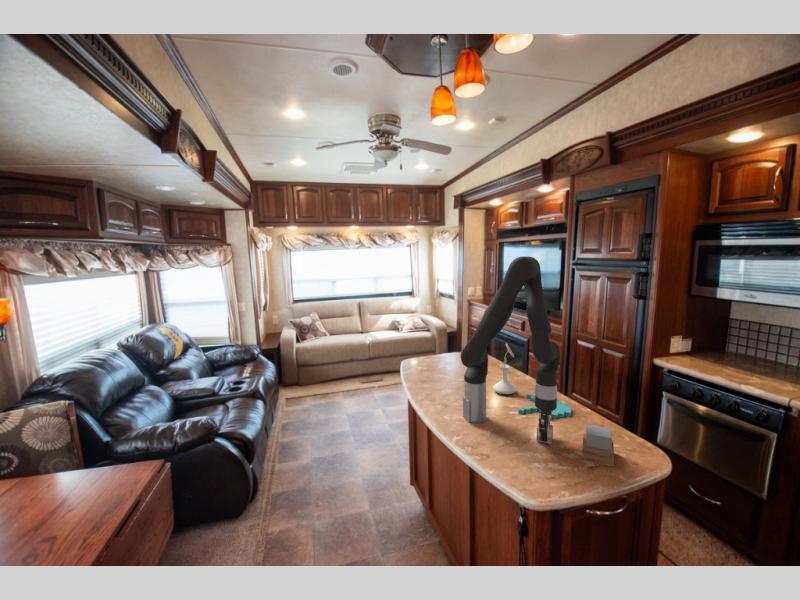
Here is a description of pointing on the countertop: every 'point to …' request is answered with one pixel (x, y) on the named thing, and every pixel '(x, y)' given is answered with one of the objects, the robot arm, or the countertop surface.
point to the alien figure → (558, 412)
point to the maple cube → (549, 434)
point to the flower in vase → (505, 378)
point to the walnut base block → (597, 454)
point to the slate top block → (598, 437)
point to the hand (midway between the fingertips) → (544, 437)
